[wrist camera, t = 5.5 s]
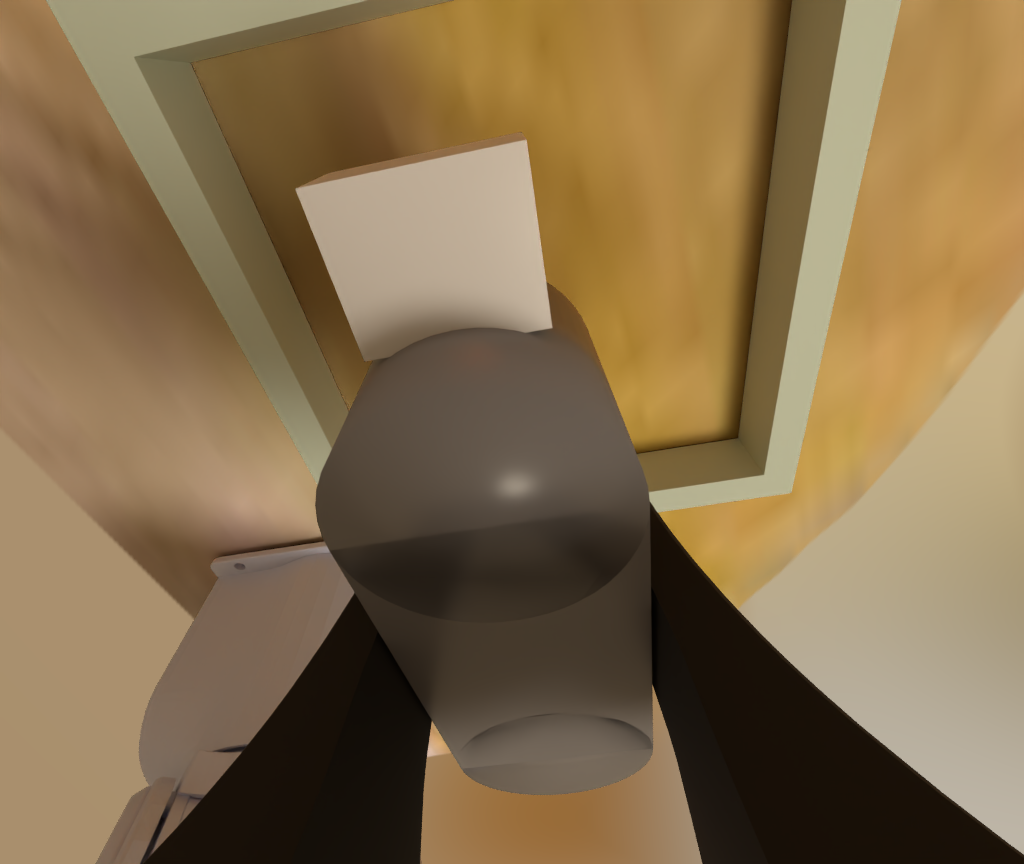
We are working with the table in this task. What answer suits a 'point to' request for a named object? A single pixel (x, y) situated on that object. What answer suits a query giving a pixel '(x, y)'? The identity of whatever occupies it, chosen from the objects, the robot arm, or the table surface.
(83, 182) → the table surface
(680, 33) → the table surface
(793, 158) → the sage frame
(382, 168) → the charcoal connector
